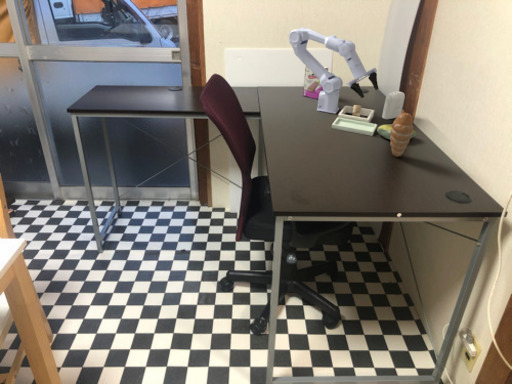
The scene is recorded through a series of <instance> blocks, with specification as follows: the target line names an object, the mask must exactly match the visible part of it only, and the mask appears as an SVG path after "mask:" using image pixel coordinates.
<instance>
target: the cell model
mask: <svg viewBox="0 0 512 384" xmlns="http://www.w3.org/2000/svg"><path fill="white" fill-rule="evenodd" d="M392 124H393V123H392ZM392 124H381V125H380V126H378V127H377V128H376V130H377V133H378V135H380V136H381V137H383V138H385V139H388V140H390V136H391V129H392ZM416 136H417V132H416V131H415V130H414V129H413V131H412V136H411V138H410V139H412V138H416Z"/></svg>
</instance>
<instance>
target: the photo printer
mask: <svg viewBox="0 0 512 384" xmlns="http://www.w3.org/2000/svg"><path fill="white" fill-rule="evenodd" d="M405 98H406V96H405V93H404V92H402V91H393V92H390V93H388V94H387V95H386V96H385V100H384V106H383V111H382V115H381V118H382V119H384V120H392V119H396V118H397V117H398V116H399V115H400V114H401V112H402V110H403V107H404V102H405Z"/></svg>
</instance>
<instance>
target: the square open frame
mask: <svg viewBox="0 0 512 384" xmlns="http://www.w3.org/2000/svg"><path fill="white" fill-rule="evenodd" d="M353 107H354V106H351V105H344V106H343V108H342V109H341V111H339V113H338V115H337V117H338V118H343V119H349V120H355V121H361V122H366V123H371V121H372V119H373V118H374V113H375V109H369V108H364V107H363V108H362V107H361V113H360V117H356V116H352V115H350V114H352V113H353ZM346 113H349V115H348V114H346ZM361 116H366V117H367V118H366V117H361Z"/></svg>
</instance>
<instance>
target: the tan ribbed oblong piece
mask: <svg viewBox="0 0 512 384" xmlns="http://www.w3.org/2000/svg"><path fill="white" fill-rule="evenodd" d="M413 120H414V118H413V116H412V115H411V113H408V112H405V109H402V112H401V114H400V115H399V116H398V117H396V118H394V120H393V123H392V129H391V136H390V139H389V140H390V143H389V145H390V147H391V153H392V155H393V156H394V157H397V158H398V157H401V156H402V155H403V154H404V152H405V150H406V149H407V147H408V145H409V143H410V140H411V139H412V138H411V136H412V131H413V130H414V125H413V123H414V122H413Z"/></svg>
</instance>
